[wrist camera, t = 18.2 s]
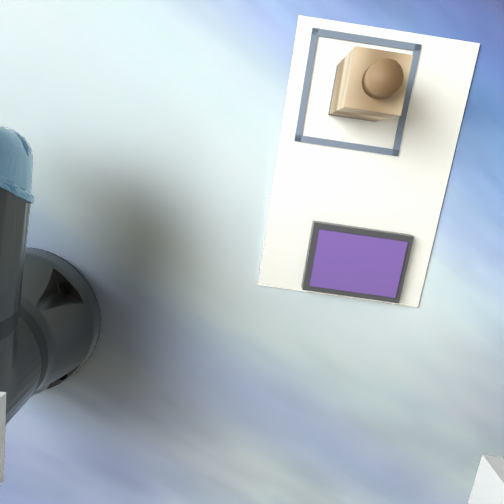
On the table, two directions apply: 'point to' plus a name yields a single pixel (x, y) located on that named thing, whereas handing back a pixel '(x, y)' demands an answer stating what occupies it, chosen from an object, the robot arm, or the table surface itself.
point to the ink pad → (356, 261)
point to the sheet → (364, 149)
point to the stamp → (370, 84)
